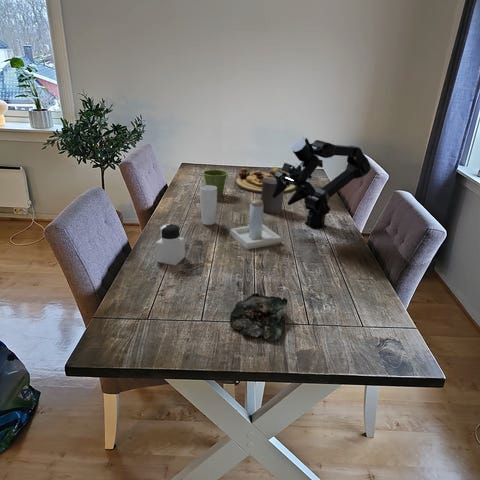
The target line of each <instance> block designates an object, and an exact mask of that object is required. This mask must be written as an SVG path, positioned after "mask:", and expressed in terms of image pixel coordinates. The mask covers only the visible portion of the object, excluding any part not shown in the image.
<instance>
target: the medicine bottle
mask: <svg viewBox="0 0 480 480" xmlns="http://www.w3.org/2000/svg"><path fill="white" fill-rule="evenodd" d="M159 229H160V239H158V240H157V241H155V258H156V259H155V260H156V263H160V264H164V265H171V266H177V265H178V264H179V263H180V262H181V261H183V260H184V258H185V257H186V241H185V240H186V239H185V237H181V236H180V235H181V234H180V227H179V226H178V225H177V224H175V223H174V224H173V223H168V224H164V225H161V227H160V228H159Z"/></svg>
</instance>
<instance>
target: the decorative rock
mask: <svg viewBox="0 0 480 480" xmlns="http://www.w3.org/2000/svg"><path fill="white" fill-rule="evenodd" d="M287 306H288V299H287V298H286V297H283V298H282V297H280V296H274V295H273V296H268V295H263V294H259V293H257V292H256V293H255V292H254V293H252V294H251V295H250V296H249V297H247V298H246V299H244V300H239V301H237V302H236V304H235V307H234V308H233V310H232V311H231V313H230V317H229V322H228V323H230V329H233V330H240V331H241V334H242V335H243V336H249V337H255V338H257V337H260V336H262V337H263V338H264V339H266V341H272V342H275V341H278V340H280V338H281V336H282V334H283V329H284V325H285V323H286V317H285V316H284V315H285V313H286V309H287ZM266 319H268V321H266Z"/></svg>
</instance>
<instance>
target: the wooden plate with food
mask: <svg viewBox="0 0 480 480" xmlns="http://www.w3.org/2000/svg"><path fill="white" fill-rule="evenodd" d="M277 171H281V169H279V168H278V167H276V166H273V167H271V168H270V170H269V172H268V173H267V172H264V171H263V172H261V171H260V170H255V171H252V172H251V173H250V170H249V169H248V168H245V167H243V168H241V169H240V170H239V172H238V177H237V178H236V179H235V184H236V186H237V187H238V188H240V189H242V190H244V191H246V192H250V193H254V194H260V195H261V194H262V181H263V179H264V178H273V177H274V178H275V176H274V175H275V173H276V172H277ZM281 172H284V173H286V172H285V171H281ZM287 174H288V173H286V175H287ZM287 176H288V175H287ZM288 177H289V176H288ZM286 187H287V188H286V189H285V190H284V193H283V194H287V193H291V192H294V191H296V186H294V185H292V184H289V185H288V186H286Z"/></svg>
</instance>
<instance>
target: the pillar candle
mask: <svg viewBox="0 0 480 480" xmlns="http://www.w3.org/2000/svg"><path fill="white" fill-rule="evenodd" d="M276 184H277V181H276V179H275V178H274V177H273V178H264V179H263V181H262V194H260V195H261V198H260V200H262V201H263V204H264V206H263V214H267V215H269V214H270V215H277V214H281V213H282V211H283V203H284V194H285V193H284V191H283V192H281V193H280V194H279V195H278V196H277V197H275V198H273V197H272V196H273V193H274V190H275V187H276Z"/></svg>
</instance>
